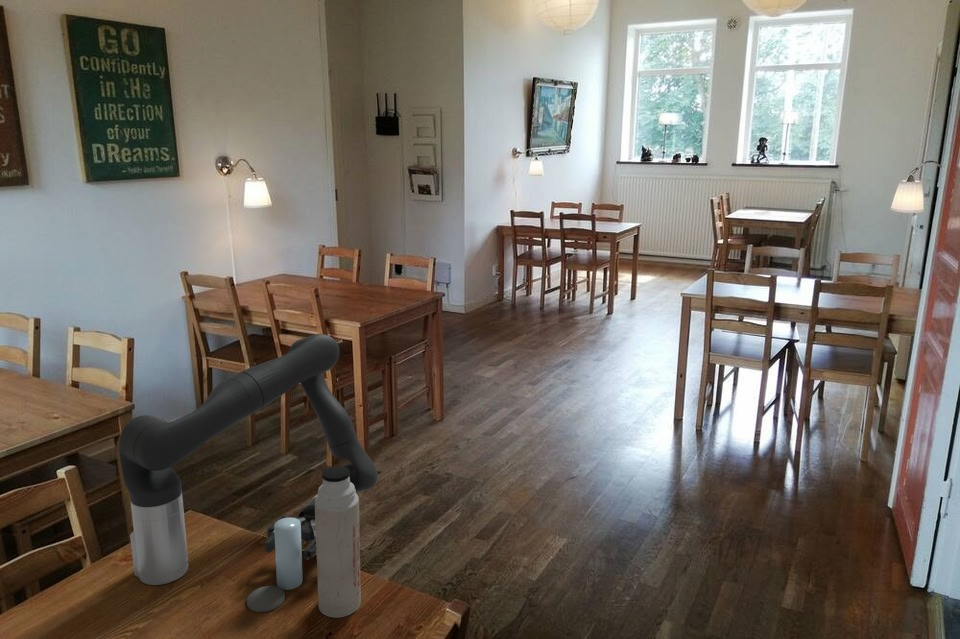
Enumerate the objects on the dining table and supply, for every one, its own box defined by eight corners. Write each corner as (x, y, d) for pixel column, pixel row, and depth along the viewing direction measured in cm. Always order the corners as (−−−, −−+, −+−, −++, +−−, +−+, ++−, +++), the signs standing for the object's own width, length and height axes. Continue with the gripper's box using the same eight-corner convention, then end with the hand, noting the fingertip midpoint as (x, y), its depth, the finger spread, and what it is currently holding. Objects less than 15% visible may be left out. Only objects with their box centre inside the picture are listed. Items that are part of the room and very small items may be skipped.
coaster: (239, 608, 128) (239, 605, 128) (259, 585, 135) (259, 583, 135) (272, 615, 127) (272, 612, 126) (291, 592, 133) (291, 589, 133)
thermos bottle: (366, 594, 133) (364, 464, 126) (351, 620, 126) (348, 484, 119) (328, 587, 135) (324, 459, 128) (311, 614, 127) (306, 478, 120)
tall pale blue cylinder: (272, 587, 134) (269, 528, 131) (285, 572, 139) (282, 515, 136) (294, 591, 133) (292, 533, 130) (307, 576, 138) (305, 519, 135)
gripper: (294, 491, 150) (253, 529, 134) (353, 500, 146) (318, 541, 131) (295, 521, 152) (255, 562, 136) (354, 531, 148) (319, 575, 133)
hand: (286, 552), depth 134 cm, fingers open, 8 cm apart
